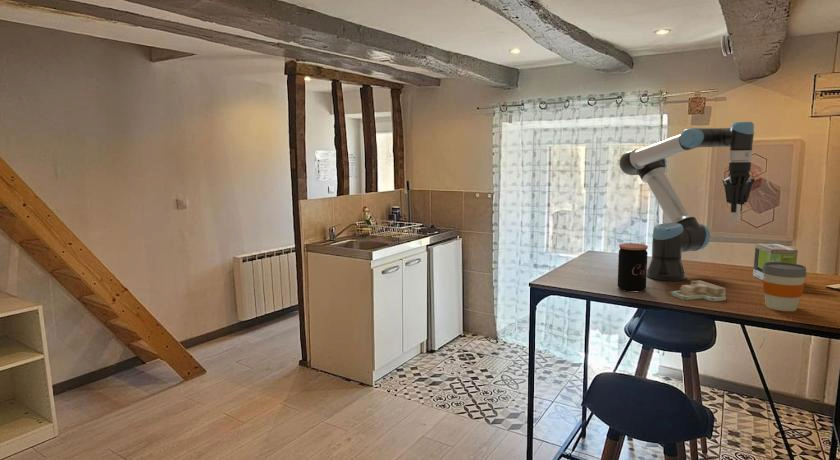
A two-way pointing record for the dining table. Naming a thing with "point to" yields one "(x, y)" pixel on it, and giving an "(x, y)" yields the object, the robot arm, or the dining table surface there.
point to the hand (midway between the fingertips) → (735, 220)
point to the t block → (702, 289)
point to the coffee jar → (632, 267)
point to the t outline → (695, 296)
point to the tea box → (772, 256)
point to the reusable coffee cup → (783, 285)
